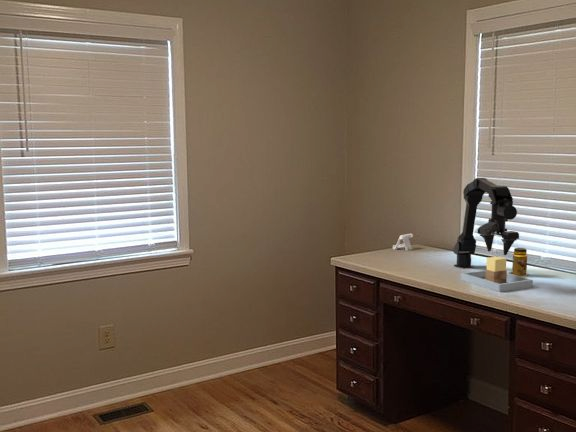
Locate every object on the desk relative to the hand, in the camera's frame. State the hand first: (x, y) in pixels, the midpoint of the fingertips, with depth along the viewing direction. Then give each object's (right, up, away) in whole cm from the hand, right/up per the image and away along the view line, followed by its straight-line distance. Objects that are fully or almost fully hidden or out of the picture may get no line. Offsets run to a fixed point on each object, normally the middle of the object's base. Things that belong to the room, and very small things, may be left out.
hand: (497, 253), depth 275 cm
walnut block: (0, -13, +2) cm, 13 cm away
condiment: (+15, -11, +18) cm, 25 cm away
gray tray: (0, -13, +2) cm, 13 cm away
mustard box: (0, -7, +1) cm, 7 cm away
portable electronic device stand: (-25, -3, +79) cm, 83 cm away
